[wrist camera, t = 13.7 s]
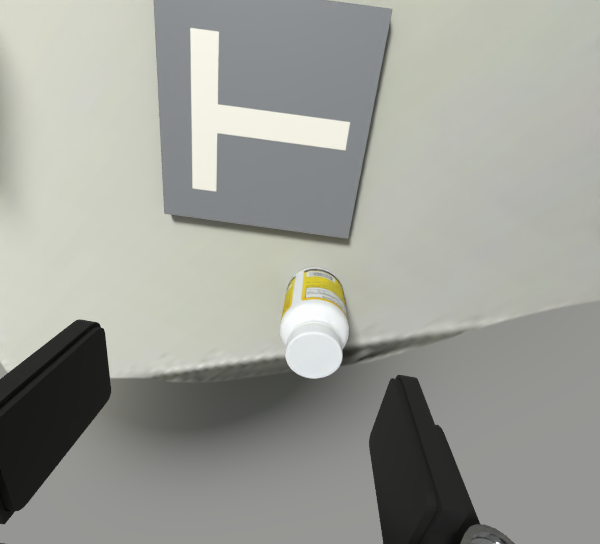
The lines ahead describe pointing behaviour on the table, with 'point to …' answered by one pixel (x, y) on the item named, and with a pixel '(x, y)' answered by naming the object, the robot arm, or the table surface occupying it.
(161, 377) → the table surface
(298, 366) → the supplement bottle
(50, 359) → the robot arm
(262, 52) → the letter pad
